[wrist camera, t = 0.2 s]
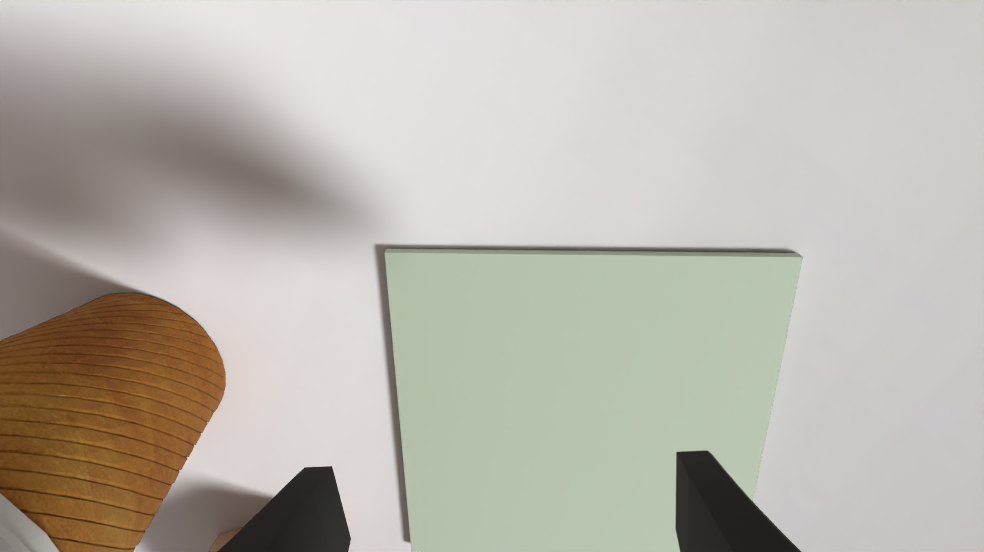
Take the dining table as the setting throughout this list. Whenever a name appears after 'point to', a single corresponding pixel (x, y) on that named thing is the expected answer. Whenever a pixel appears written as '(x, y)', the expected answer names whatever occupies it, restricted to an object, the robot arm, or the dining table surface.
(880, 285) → the dining table surface
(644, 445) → the mat
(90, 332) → the disposable coffee cup
